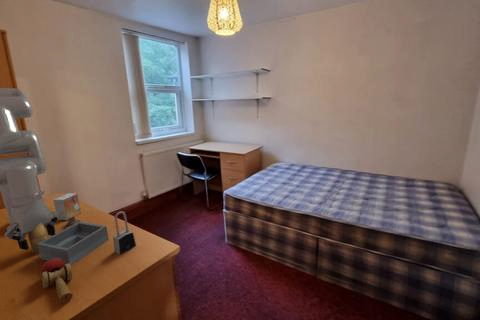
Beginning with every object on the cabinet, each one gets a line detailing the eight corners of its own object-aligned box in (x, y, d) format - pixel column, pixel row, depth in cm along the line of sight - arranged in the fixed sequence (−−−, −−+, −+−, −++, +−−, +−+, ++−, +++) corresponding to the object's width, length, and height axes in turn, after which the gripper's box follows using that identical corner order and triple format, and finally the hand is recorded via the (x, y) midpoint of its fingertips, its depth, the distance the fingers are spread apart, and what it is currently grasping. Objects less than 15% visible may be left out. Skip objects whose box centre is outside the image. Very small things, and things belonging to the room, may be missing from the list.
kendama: (87, 295, 69) (68, 261, 80) (79, 281, 66) (61, 248, 77) (56, 316, 64) (41, 277, 75) (46, 302, 61) (32, 264, 72)
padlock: (119, 255, 85) (113, 217, 81) (113, 251, 87) (107, 214, 83) (137, 245, 90) (131, 209, 86) (130, 242, 92) (125, 206, 89)
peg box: (41, 258, 84) (37, 244, 82) (82, 234, 99) (79, 221, 97) (70, 266, 80) (66, 250, 78) (108, 239, 94) (106, 226, 93)
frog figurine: (55, 229, 105) (53, 221, 104) (86, 218, 113) (84, 211, 112) (61, 238, 97) (59, 230, 96) (93, 227, 105) (92, 219, 104)
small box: (67, 221, 111) (62, 200, 108) (57, 220, 112) (52, 199, 109) (81, 213, 118) (77, 193, 116) (72, 212, 119) (68, 192, 117)
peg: (29, 252, 88) (21, 225, 85) (43, 244, 92) (36, 219, 90) (38, 254, 86) (31, 227, 83) (52, 246, 91) (46, 220, 88)
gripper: (45, 189, 93) (55, 228, 97) (-11, 208, 77) (4, 254, 81) (59, 191, 91) (69, 231, 95) (4, 210, 75) (19, 258, 79)
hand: (39, 241), depth 88 cm, fingers open, 8 cm apart
